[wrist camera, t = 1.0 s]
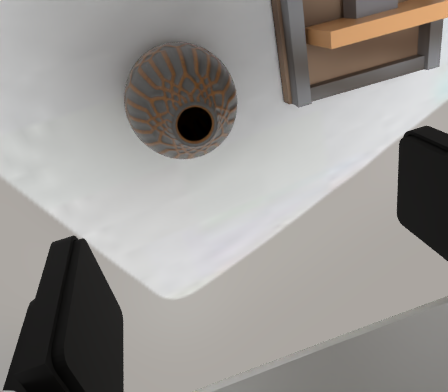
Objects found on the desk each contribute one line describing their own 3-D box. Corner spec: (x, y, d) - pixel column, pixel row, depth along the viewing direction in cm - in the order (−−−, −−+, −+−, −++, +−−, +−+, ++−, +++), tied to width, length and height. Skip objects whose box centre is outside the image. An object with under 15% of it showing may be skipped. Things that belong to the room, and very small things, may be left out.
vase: (217, 32, 25) (258, 45, 18) (224, 129, 28) (261, 175, 21) (114, 43, 24) (110, 61, 16) (134, 143, 27) (139, 196, 20)
